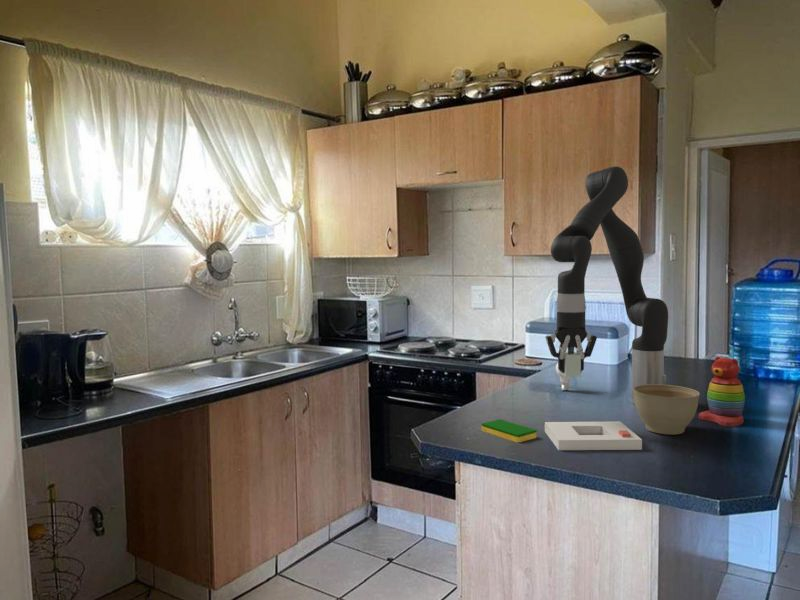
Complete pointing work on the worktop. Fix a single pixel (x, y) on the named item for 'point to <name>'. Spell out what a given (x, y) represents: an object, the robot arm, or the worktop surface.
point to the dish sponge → (509, 430)
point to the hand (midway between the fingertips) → (570, 371)
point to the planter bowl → (665, 407)
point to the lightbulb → (563, 380)
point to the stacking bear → (725, 394)
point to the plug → (572, 363)
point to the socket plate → (592, 436)
